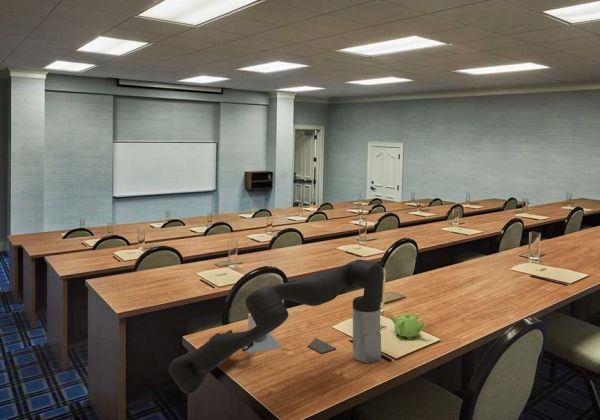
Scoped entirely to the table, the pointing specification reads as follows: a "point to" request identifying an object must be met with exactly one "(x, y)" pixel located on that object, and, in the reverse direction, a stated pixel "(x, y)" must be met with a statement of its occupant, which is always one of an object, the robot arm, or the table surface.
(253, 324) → the block
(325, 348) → the smartphone
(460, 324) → the table surface
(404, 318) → the teapot
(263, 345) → the desk mat
